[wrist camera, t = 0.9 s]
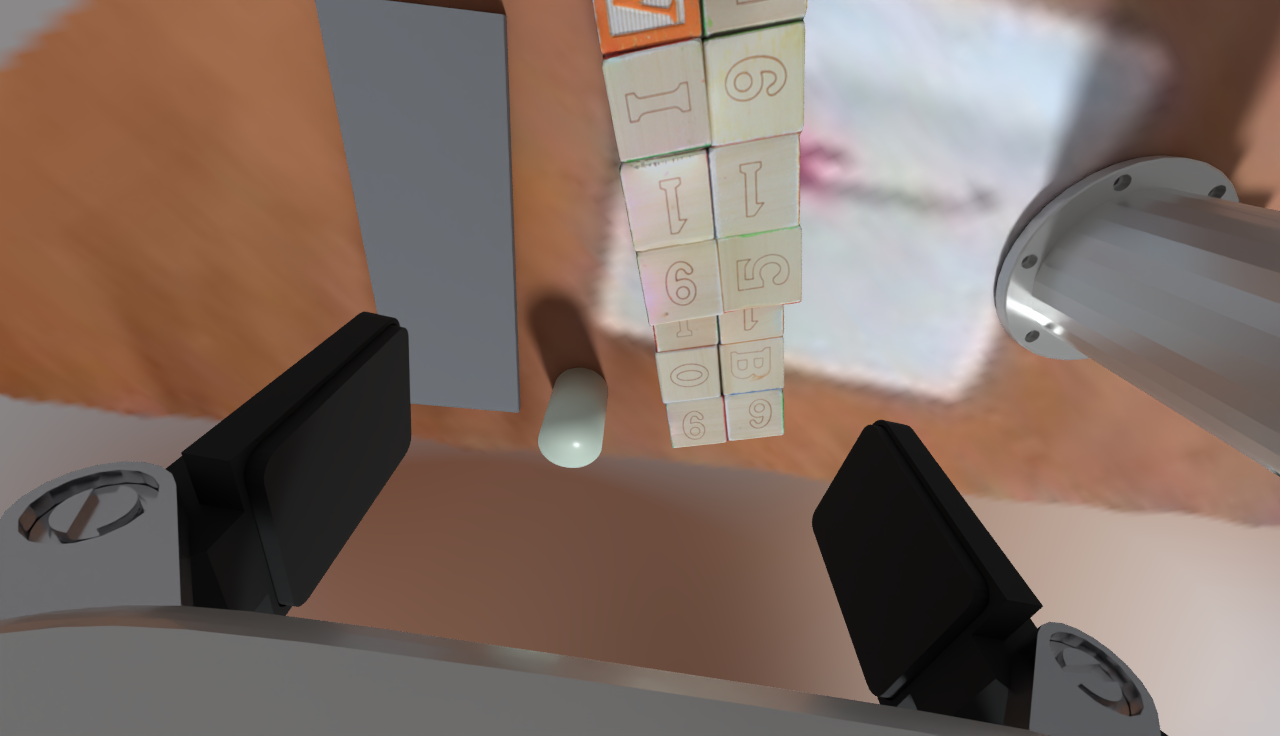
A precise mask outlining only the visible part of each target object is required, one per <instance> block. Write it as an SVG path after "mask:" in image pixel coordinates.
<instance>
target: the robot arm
mask: <svg viewBox="0 0 1280 736" xmlns="http://www.w3.org/2000/svg"><path fill="white" fill-rule="evenodd" d="M995 297H996V310H997V314H998V317H999V320H1000V323H1001V325H1002V327H1003V328H1004V330H1005V331H1006V332H1007V334H1008V335H1009V336H1010V337H1011V338H1012V339H1013V340H1015V341H1016V342H1017V343H1019V344H1020V345H1021V346H1022V347H1024V348H1026V349H1027V350H1029V351H1031V352H1033V353H1034V354H1037V355H1040V356H1043V357H1047V358H1050V359H1059V360H1078V359H1088V358H1091V359H1092V360H1094V361H1095V362H1097V363H1099V364H1100V365H1102V366H1103V367H1105V368H1107V369H1108V370H1110V371H1111V372H1113V373H1115V374H1116V375H1118V376H1119V377H1121V378H1123V379H1124V380H1126V381H1127V382H1129V383H1131V384H1132V385H1134V386H1135V387H1137V388H1139V389H1140V390H1142V391H1143V392H1145V393H1147V394H1148V395H1150V396H1151V397H1153V398H1155V399H1156V400H1158V401H1159V402H1161V403H1163V404H1164V405H1166V406H1167V407H1169V408H1171V409H1172V410H1174V411H1175V412H1177V413H1179V414H1180V415H1182V416H1183V417H1185V418H1187V419H1188V420H1190V421H1191V422H1193V423H1195V424H1196V425H1198V426H1199V427H1201V428H1203V429H1204V430H1206V431H1207V432H1209V433H1211V434H1212V435H1214V436H1215V437H1217V438H1219V439H1220V440H1222V441H1223V442H1225V443H1227V444H1228V445H1230V446H1231V447H1233V448H1235V449H1236V450H1238V451H1239V452H1241V453H1243V454H1244V455H1246V456H1247V457H1249V458H1251V459H1252V460H1254V461H1255V462H1257V463H1259V464H1260V465H1262V466H1263V467H1265V468H1267V469H1268V470H1270V471H1271V472H1273V473H1275V474H1276V475H1278V476H1279V477H1280V211H1277V210H1272V209H1267V208H1262V207H1257V206H1253V205H1248V204H1243V203H1239V198H1238V195H1237V193H1236V190H1235V188H1234V185H1233V184H1232V182H1231V181H1230V180H1229V179H1228V178H1227V177H1226V175H1225V174H1224V173H1223V172H1222V171H1220V170H1219V169H1217V168H1215V167H1213V166H1212V165H1210V164H1208V163H1206V162H1202V161H1198V160H1194V159H1189V158H1183V157H1174V156H1164V155H1160V156H1149V157H1139V158H1135V159H1132V160H1128V161H1124V162H1120V163H1117V164H1114V165H1112V166H1109V167H1107V168H1105V169H1102V170H1100V171H1098V172H1095V173H1093V174H1091V175H1089V176H1088V177H1086V178H1084V179H1083V180H1081V181H1079V182H1078V183H1076V184H1074V185H1073V186H1071V187H1069V188H1068V189H1066V190H1065V191H1064V192H1063V193H1061V194H1060V195H1059V196H1058V197H1056V198H1055V199H1054V200H1052V201H1051V202H1050V203H1049V204H1047V205H1046V206H1045V207H1044V208H1043V209H1042V210H1041V211H1040V212H1039V213H1038V214H1037V215H1036V216H1035V217H1034V218H1033V219H1032V220H1031V221H1030V223H1029V224H1028V225H1027V227H1026V228H1025V229H1024V230H1023V232H1022V233H1021V234H1020V236H1019V237H1018V238H1017V240H1016V241H1015V243H1014V244H1013V246H1012V248H1011V250H1010V252H1009V253H1008V255H1007V257H1006V259H1005V261H1004V264H1003V266H1002V269H1001V272H1000V275H999V278H998V282H997V289H996V295H995ZM410 441H411V406H410V369H409V335H408V331H407V329H406V328H404V327H400V323H399V321H398V320H397V319H396V318H393V317H388V316H384V315H379V314H374V313H369V312H362V313H360V314H358V315H357V316H356V317H355V318H353V319H352V320H351V321H349V322H348V323H347V324H346V325H344V326H343V327H342V328H340V329H339V330H338V331H337V332H335V333H334V334H333V335H332V336H330V337H329V338H328V339H326V340H325V341H324V342H323V343H321V344H320V345H319V346H317V347H316V348H315V349H314V350H312V351H311V352H310V353H308V354H307V355H306V356H305V357H303V358H302V359H301V360H299V361H298V362H297V363H296V364H294V365H293V366H292V367H290V368H289V369H288V370H287V371H285V372H284V373H283V374H281V375H280V376H279V377H278V378H276V379H275V380H274V381H272V382H271V383H270V384H269V385H267V386H266V387H265V388H264V389H262V390H261V391H260V392H258V393H257V394H256V395H255V396H253V397H252V398H251V399H249V400H248V401H247V402H246V403H244V404H243V405H242V406H240V407H239V408H238V409H237V410H235V411H234V412H233V413H231V414H230V415H229V416H228V417H226V418H225V419H224V420H222V421H221V422H220V423H219V424H217V425H216V426H215V427H213V428H212V429H211V430H210V431H208V432H207V433H206V434H204V435H203V436H202V437H201V438H199V439H198V440H197V441H195V442H194V443H193V444H192V445H191V446H189V447H188V448H187V449H185V450H184V451H183V452H182V456H181V457H180V458H179V459H178V460H176V461H175V462H174V463H172V464H171V465H170V466H169V467H167V468H166V469H164V468H163V467H161V466H158V465H154V464H150V463H146V462H116V463H109V464H102V465H96V466H92V467H89V468H85V469H81V470H77V471H74V472H70V473H68V474H66V475H63V476H61V477H58V478H56V479H53V480H51V481H49V482H46V483H44V484H43V485H41V486H39V487H37V488H36V489H34V490H32V491H30V492H29V493H27V494H25V495H24V496H22V497H21V498H20V499H19V500H18V501H16V502H15V503H14V504H13V505H12V506H11V507H10V508H9V509H7V510H6V511H5V512H4V514H3V516H2V517H1V519H0V736H1168V735H1166V734H1165V733H1164V732H1162V731H1161V730H1160V725H1159V719H1158V713H1157V710H1156V707H1155V704H1154V702H1153V699H1152V697H1151V696H1150V694H1149V693H1148V691H1147V689H1146V688H1145V686H1144V685H1143V683H1142V682H1141V681H1140V680H1139V678H1138V677H1137V676H1136V675H1135V674H1134V673H1133V672H1132V670H1131V669H1130V668H1129V667H1128V666H1127V665H1126V664H1125V663H1124V662H1123V661H1122V660H1121V659H1120V658H1118V657H1117V656H1116V655H1115V654H1114V653H1113V652H1112V651H1111V650H1109V649H1108V648H1107V647H1105V646H1104V645H1102V644H1101V643H1100V642H1098V641H1097V640H1096V639H1094V638H1093V637H1091V636H1089V635H1087V634H1085V633H1084V632H1082V631H1080V630H1078V629H1076V628H1073V627H1071V626H1068V625H1065V624H1062V623H1055V622H1048V623H1046V624H1043V625H1041V626H1040V627H1039V628H1038V629H1037V627H1036V626H1035V625H1034V623H1033V622H1032V620H1031V619H1030V618H1031V617H1032V616H1033V615H1034V614H1035V613H1036V612H1037V611H1038V610H1039V609H1041V607H1043V606H1042V604H1041V603H1040V601H1039V600H1038V599H1037V597H1036V596H1035V595H1034V594H1033V592H1032V591H1031V589H1030V588H1029V587H1028V585H1027V584H1026V582H1025V581H1024V580H1023V578H1022V577H1021V576H1020V574H1019V573H1018V572H1017V570H1016V569H1015V568H1014V566H1013V565H1012V564H1011V562H1010V561H1009V559H1008V558H1007V557H1006V555H1005V554H1004V553H1003V551H1002V550H1001V549H1000V547H999V546H998V545H997V543H996V542H995V540H994V539H993V538H992V536H991V535H990V534H989V532H988V531H987V530H986V528H985V527H984V526H983V524H982V523H981V522H980V520H979V519H978V517H977V516H976V515H975V513H974V512H973V511H972V509H971V508H970V507H969V505H968V504H967V502H966V501H965V500H964V498H963V497H962V496H961V494H960V493H959V492H958V490H957V489H956V488H955V486H954V485H953V484H952V482H951V481H950V479H949V478H948V477H947V475H946V474H945V473H944V471H943V470H942V469H941V467H940V466H939V465H938V463H937V462H936V460H935V459H934V458H933V456H932V455H931V454H930V452H929V451H928V450H927V448H926V447H925V446H924V444H923V443H922V441H921V440H920V439H919V437H918V436H917V435H916V433H915V432H914V431H913V429H912V428H911V427H910V426H907V425H904V424H899V423H894V422H889V421H885V420H878V421H876V422H875V423H873V425H868V426H866V427H865V428H864V429H863V431H862V432H861V434H860V436H859V438H858V439H857V441H856V443H855V444H854V446H853V448H852V449H851V451H850V453H849V454H848V456H847V458H846V459H845V461H844V463H843V464H842V466H841V468H840V470H839V471H838V473H837V475H836V476H835V478H834V480H833V481H832V483H831V485H830V486H829V488H828V490H827V491H826V493H825V495H824V496H823V498H822V500H821V502H820V503H819V505H818V507H817V508H816V510H815V512H814V514H813V518H812V527H813V531H814V534H815V537H816V540H817V542H818V545H819V548H820V551H821V554H822V557H823V560H824V562H825V565H826V568H827V571H828V574H829V577H830V580H831V582H832V585H833V588H834V591H835V594H836V597H837V600H838V602H839V605H840V608H841V611H842V614H843V617H844V620H845V623H846V625H847V628H848V631H849V634H850V637H851V639H852V643H853V645H854V648H855V651H856V654H857V657H858V660H859V663H860V665H861V668H862V671H863V674H864V677H865V680H866V683H867V685H868V687H869V689H870V691H871V692H872V693H873V694H874V695H875V696H877V697H878V700H879V703H880V704H874V703H867V702H861V701H855V700H848V699H842V698H836V697H830V696H823V695H817V694H810V693H805V692H798V691H792V690H786V689H779V688H773V687H766V686H760V685H754V684H747V683H741V682H734V681H728V680H721V679H714V678H708V677H702V676H694V675H689V674H682V673H676V672H669V671H663V670H656V669H650V668H643V667H636V666H630V665H623V664H617V663H610V662H603V661H597V660H590V659H584V658H577V657H571V656H564V655H557V654H551V653H544V652H537V651H530V650H523V649H517V648H510V647H503V646H496V645H490V644H483V643H476V642H469V641H463V640H456V639H449V638H442V637H435V636H428V635H422V634H415V633H408V632H401V631H395V630H388V629H381V628H374V627H366V626H359V625H350V624H343V623H336V622H328V621H320V620H312V619H304V618H297V617H289V616H286V614H287V613H288V611H289V610H290V608H291V607H292V606H296V607H299V606H301V605H302V604H304V603H305V602H306V601H307V599H308V598H309V597H310V595H311V594H312V592H313V591H314V589H315V588H316V586H317V585H318V583H319V582H320V580H321V579H322V578H323V576H324V575H325V573H326V572H327V570H328V569H329V567H330V566H331V564H332V563H333V561H334V559H335V558H336V557H337V555H338V554H339V552H340V551H341V549H342V548H343V546H344V545H345V543H346V542H347V540H348V539H349V537H350V536H351V534H352V533H353V532H354V530H355V529H356V527H357V526H358V524H359V523H360V521H361V520H362V518H363V516H364V515H365V514H366V512H367V511H368V509H369V508H370V506H371V505H372V503H373V502H374V500H375V499H376V497H377V496H378V494H379V493H380V491H381V490H382V488H383V487H384V486H385V484H386V482H387V481H388V480H389V478H390V477H391V475H392V474H393V472H394V471H395V469H396V468H397V466H398V465H399V463H400V462H401V460H402V459H403V457H404V456H405V454H406V453H407V450H408V448H409V445H410Z"/></svg>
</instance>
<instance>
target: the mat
mask: <svg viewBox="0 0 1280 736" xmlns="http://www.w3.org/2000/svg"><path fill="white" fill-rule="evenodd" d="M315 3H316V8H317V13H318V18H319V23H320V28H321V33H322V38H323V43H324V48H325V53H326V58H327V63H328V68H329V73H330V78H331V83H332V88H333V93H334V98H335V103H336V108H337V113H338V118H339V123H340V128H341V133H342V138H343V143H344V148H345V153H346V158H347V163H348V168H349V173H350V178H351V183H352V188H353V193H354V198H355V203H356V208H357V213H358V218H359V223H360V228H361V233H362V238H363V243H364V248H365V253H366V258H367V263H368V268H369V273H370V278H371V283H372V288H373V293H374V298H375V303H376V308H377V313H378V314H379V315H384V316H388V317H393V318H396V319H397V320H398V321H399V323H400V327H404V328H406V329H407V331H408V335H409V369H410V403H412V404H424V405H435V406H447V407H459V408H470V409H482V410H494V411H505V412H517V413H519V410H520V385H519V357H518V329H517V301H516V273H515V245H514V217H513V189H512V161H511V133H510V105H509V77H508V49H507V21H506V15H503V14H495V13H487V12H479V11H471V10H462V9H454V8H446V7H437V6H429V5H421V4H413V3H404V2H396V1H388V0H315Z"/></svg>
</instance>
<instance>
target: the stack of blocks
mask: <svg viewBox="0 0 1280 736" xmlns="http://www.w3.org/2000/svg"><path fill="white" fill-rule="evenodd" d="M592 1H593V7H594V13H595V19H596V25H597V31H598V37H599V43H600V48H601V51H602V54H603V61H602V68H603V73H604V79H605V84H606V89H607V95H608V100H609V105H610V110H611V116H612V121H613V126H614V131H615V137H616V142H617V147H618V152H619V157H620V160H621V165H620V178H621V183H622V189H623V194H624V198H625V204H626V210H627V215H628V220H629V225H630V230H631V236H632V241H633V245H634V248H635V251H636V255H637V263H638V268H639V274H640V279H641V284H642V289H643V295H644V300H645V305H646V310H647V316H648V322H649V325H650V326H652V325H653V330H654V337H655V357H656V364H657V371H658V378H659V383H660V389H661V395H662V401H663V402H664V403H665V404H666V410H667V416H668V422H669V429H670V435H671V441H672V447H673V448H678V447H687V446H696V445H705V444H715V443H724V442H726V441H727V440H742V439H751V438H759V437H768V436H777V435H783V434H784V399H783V389H782V388H783V387H784V339H783V333H784V308H783V305H784V304H792V303H798V302H800V301H801V298H802V267H801V265H802V228H801V226H800V224H799V216H800V138H799V136H800V133H801V132H802V130H803V125H804V64H805V25H804V21H803V19H804V17H805V13H806V9H807V0H592Z"/></svg>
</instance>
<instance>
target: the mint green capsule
mask: <svg viewBox="0 0 1280 736" xmlns="http://www.w3.org/2000/svg"><path fill="white" fill-rule="evenodd" d="M607 399H608V387H607V384H606V382H605V380H604V379H603V378H602V377H601V376H600V375H599V374H598V373H596V372H595V371H593V370H590V369H587V368H572V369H569V370H566V371H564V372H563V373H561V374H560V375H559V376H558V378H557V379H556V381H555V384H554V387H553V391H552V394H551V397H550V401H549V404H548V407H547V411H546V414H545V417H544V420H543V424H542V427H541V430H540V434H539V438H538V445H539V448H540V450H541V452H542V454H543V455H544V456H545V457H546V458H547V459H548V460H550V461H551V462H553V463H554V464H557V465H559V466H563V467H569V468H577V467H582V466H586V465H588V464H590V463H591V462H593V461H594V460H595V459H596V458H597V457H598V456H599V454H600V452H601V449H602V441H603V433H604V424H605V416H606V408H607Z"/></svg>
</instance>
